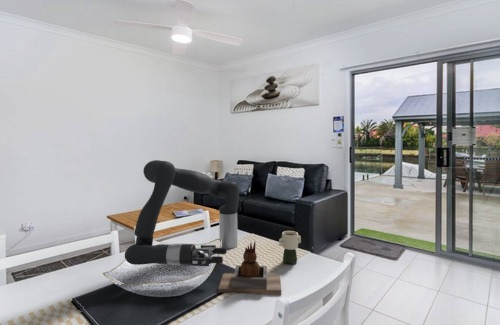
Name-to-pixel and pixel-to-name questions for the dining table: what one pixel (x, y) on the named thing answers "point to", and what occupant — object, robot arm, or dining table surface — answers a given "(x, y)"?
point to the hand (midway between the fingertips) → (224, 255)
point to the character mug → (290, 246)
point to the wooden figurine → (250, 263)
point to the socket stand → (250, 283)
